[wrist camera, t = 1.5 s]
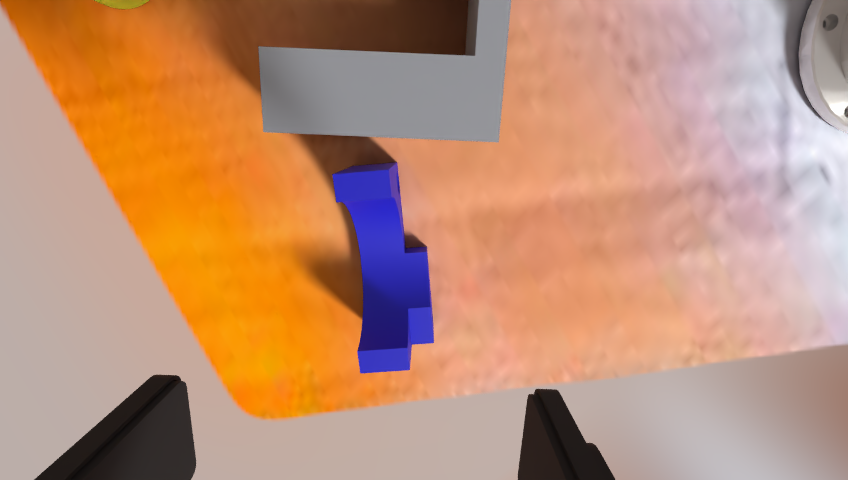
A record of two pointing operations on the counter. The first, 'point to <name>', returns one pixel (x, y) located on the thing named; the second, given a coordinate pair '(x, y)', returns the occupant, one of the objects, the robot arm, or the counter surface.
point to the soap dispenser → (122, 3)
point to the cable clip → (386, 269)
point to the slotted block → (392, 87)
